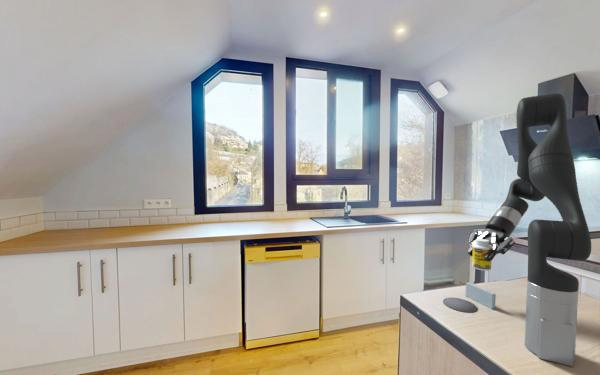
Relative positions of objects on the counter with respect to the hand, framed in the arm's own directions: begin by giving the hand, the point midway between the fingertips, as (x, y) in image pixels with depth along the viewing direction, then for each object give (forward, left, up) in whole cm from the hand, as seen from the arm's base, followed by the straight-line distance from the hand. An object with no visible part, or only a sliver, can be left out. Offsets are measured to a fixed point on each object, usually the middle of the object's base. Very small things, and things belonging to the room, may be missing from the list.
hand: (478, 257), depth 92 cm
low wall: (+1, -1, -16) cm, 16 cm away
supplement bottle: (+1, -1, -4) cm, 5 cm away
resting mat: (-5, +5, -16) cm, 18 cm away
